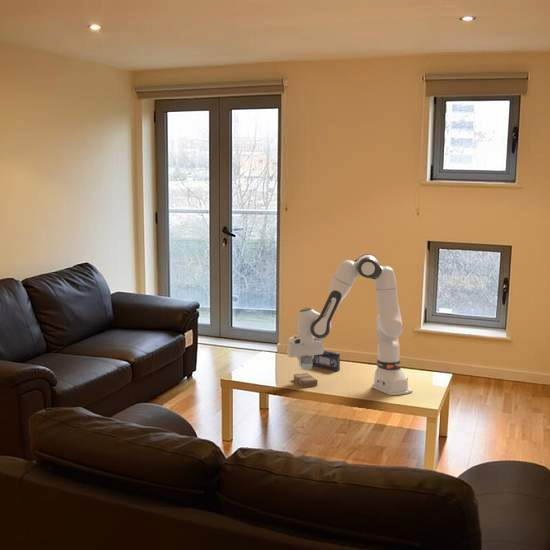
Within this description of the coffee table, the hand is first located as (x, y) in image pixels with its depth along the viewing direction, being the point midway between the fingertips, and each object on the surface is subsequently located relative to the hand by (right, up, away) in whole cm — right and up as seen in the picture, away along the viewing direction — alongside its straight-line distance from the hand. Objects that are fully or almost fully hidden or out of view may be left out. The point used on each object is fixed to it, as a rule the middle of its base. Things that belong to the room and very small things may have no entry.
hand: (305, 363), depth 363 cm
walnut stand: (0, -11, +2) cm, 11 cm away
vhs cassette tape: (+13, -7, +29) cm, 32 cm away
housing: (0, -2, 0) cm, 2 cm away
